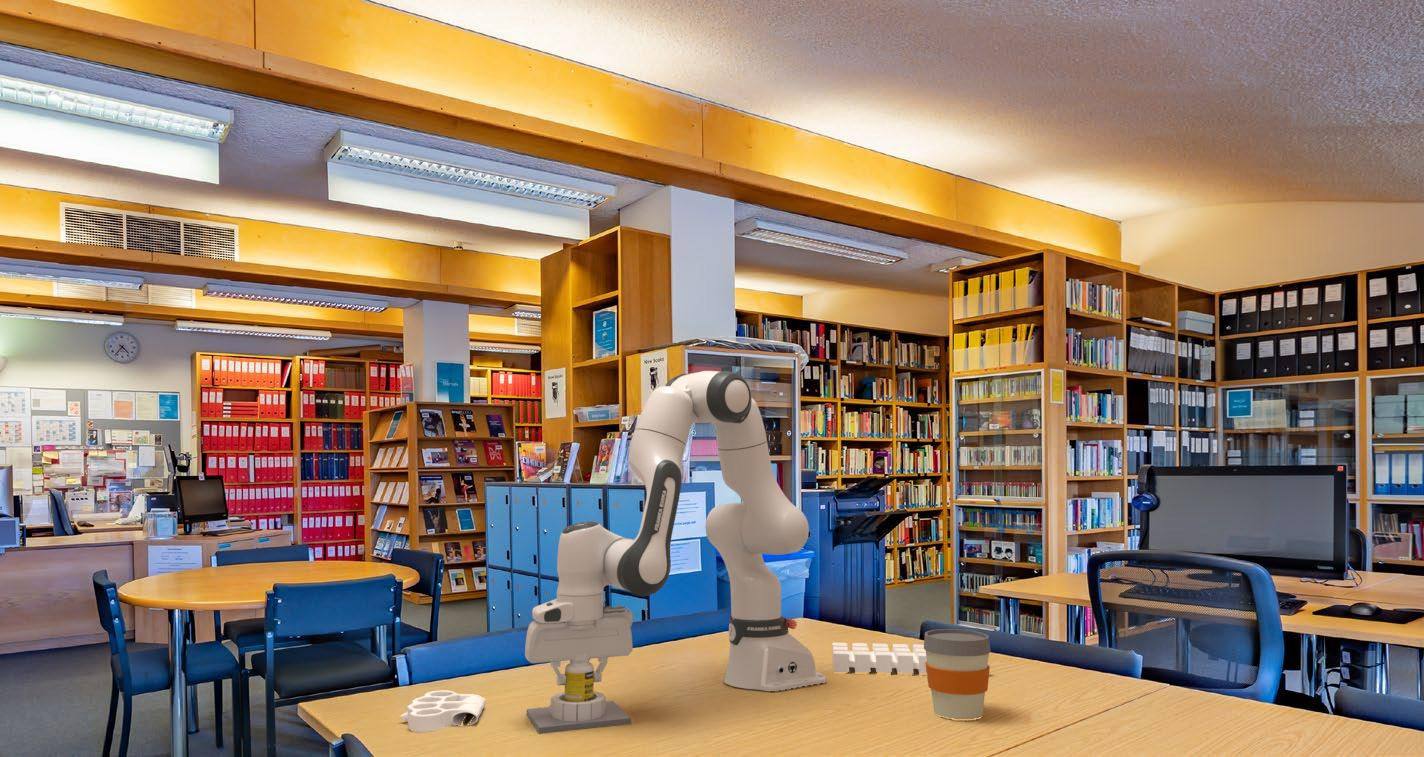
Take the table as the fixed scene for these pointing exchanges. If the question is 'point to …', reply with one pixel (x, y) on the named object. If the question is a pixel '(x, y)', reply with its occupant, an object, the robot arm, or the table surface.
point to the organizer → (878, 658)
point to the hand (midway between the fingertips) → (579, 683)
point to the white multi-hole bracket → (442, 710)
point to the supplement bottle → (579, 680)
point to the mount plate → (577, 714)
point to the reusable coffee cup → (957, 671)
